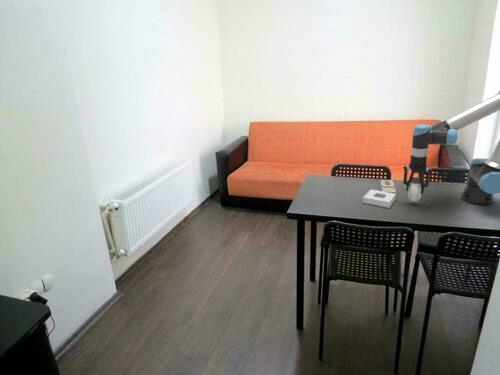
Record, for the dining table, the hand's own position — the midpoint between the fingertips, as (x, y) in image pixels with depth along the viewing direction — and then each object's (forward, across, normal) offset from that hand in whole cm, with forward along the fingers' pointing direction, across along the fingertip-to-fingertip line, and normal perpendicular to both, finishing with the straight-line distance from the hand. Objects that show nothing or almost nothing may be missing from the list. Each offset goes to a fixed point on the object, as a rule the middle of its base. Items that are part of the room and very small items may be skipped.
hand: (414, 197), depth 187 cm
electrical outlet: (+4, +17, -14) cm, 22 cm away
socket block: (+4, +17, +5) cm, 18 cm away
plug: (+1, 0, 0) cm, 1 cm away
